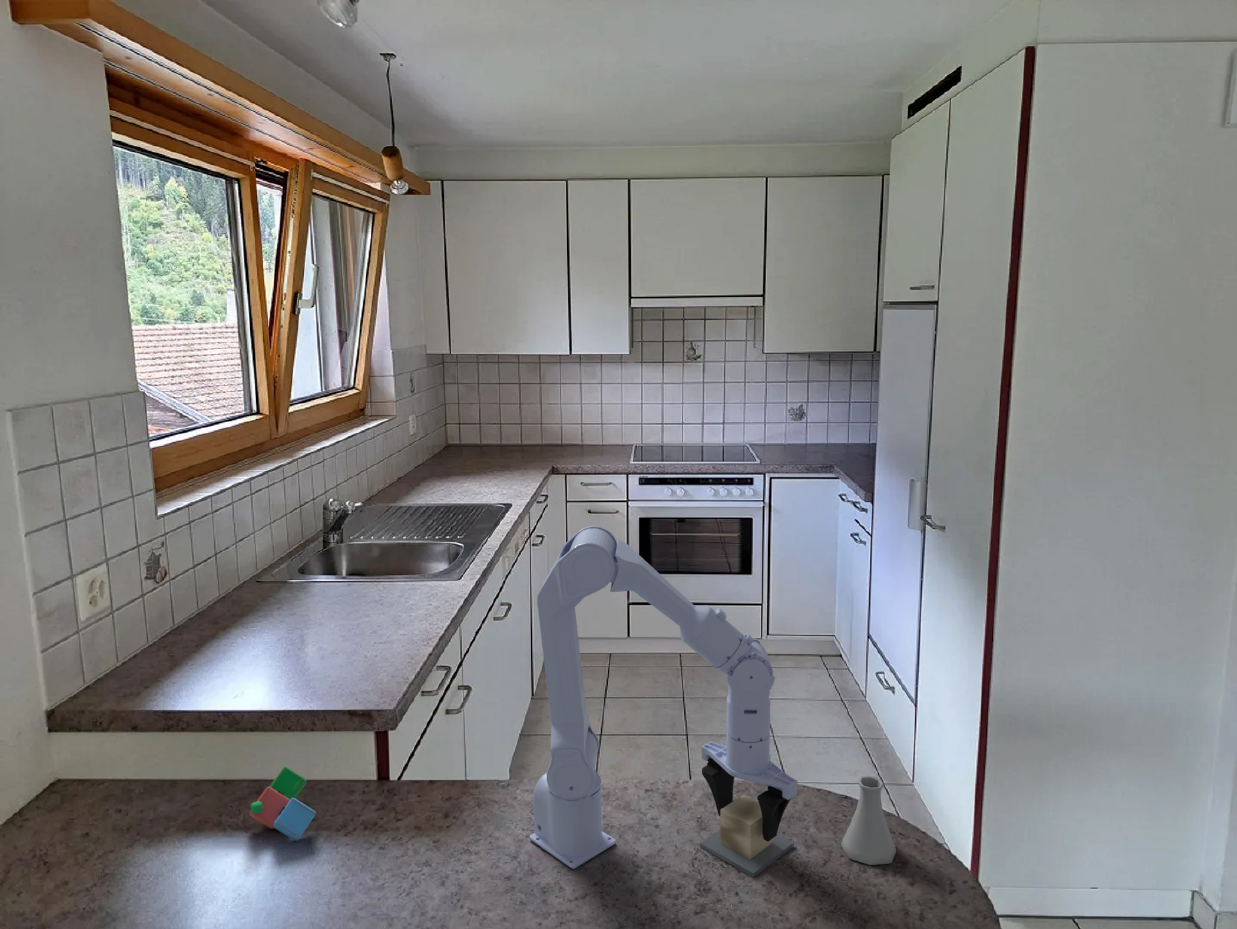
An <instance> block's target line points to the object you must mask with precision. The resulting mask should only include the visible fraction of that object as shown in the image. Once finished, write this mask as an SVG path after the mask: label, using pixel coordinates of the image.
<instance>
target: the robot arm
mask: <svg viewBox="0 0 1237 929" xmlns="http://www.w3.org/2000/svg"><path fill="white" fill-rule="evenodd" d="M617 540H618V541H617ZM610 583H611V585H610V590H609V591H610V592H611V593H621V592H628V591H629V592H633V593H635V594H637V595H638V596H639V597H641V598H642V599H643V600H644V601H645V602H647V603H648V604H650V605H651V606H652V607H654V609H656V610H657V611H659V612H660V613H661V614H663V615H664V616H666V618H668V619H669V620H671V621H672V622H673V623H675V624H676V625H678V626H679V633H680V634H679V635H680V639H681V641H682V642H684V643H685V644H686V645H687V646H688V647H690V649H691V650H693V651H694V652H695V653H696V654H698V655H699V656H700V657H702V658H703V659H704V660H705V661H706V662H707V663H709V664H710V665H711V666H712V667H714V669H716V670H717V671H718V672H720V673H723V674H725V675H727V682H728V688H727V689H728V692H727V693H728V694H727V697H726V721H725V722H726V726H725V727H726V732H725V733H726V735H725V736H726V739H725V740H726V743H725V745H722V744H719V743H716V742H713V741H709V742H707V743H705V744H704V745H701V759H702V760H703V761H706V762H707V764H706V765H704V766H703V767H702V768H701V775H702V777H704V779H705V781H706V782H707V784H708V787H709V789H710V791H711V793H712V794H711V795H712V797H713V800H714V803H715V807H716V810H717V815H718V817H720V810H721V809H722V808H724V807H725V806H727V805H728V804H730V803H731V802H733V801H734V800H733V799H734V797H733V795H734V782H735V778H736V779H739V780H744V781H748V782H751V783H756V784H760V785H763V786H765V787H767V790H764V791H763V792H761V793H760V794H759V795H757V797H756V801H757V802H759V805H760V808H761V813H762V831H763V839H764V840H765V841H770V840H771V839H773V838H774V837H775V836H777V834H778V833H779V832H778V831H779V827H780V824H781V821H782V819H783V818H782V817H783V815H784V813H785V810H786V808H787V806H788V805H789V803H790V802H791V800H792V798H794V797H795V796H796V795H798V786H799V785H798V780H797V779H795V778H793V777H791V776H790V775H789V774H787V773H786V772H785V771H784V770H782V769H781V768H780V767H779V766H777V765H776V764H775V763H774V762H772V760H771V753H770V752H771V750H770V746H771V744H770V742H771V736H770V735H771V700H770V699H771V698H770V693H771V689H772V688H773V686H774V683H775V678H776V677H775V676H774V671H773V667H772V664H771V661H770V659H769V658H770V657H769V655H768V652H767V651H766V649H765V647H764V646H763V644H762V643H761V642H760V640H759V639H757V638H754V637H752V636H751V634H749V633H746V634H745V635H744V634H743V632H741V631H740V630H739V629H738V628H736V627H735V626H734V625H733V624H732V623H730V622H729V621H728V620H727V614H726V612H724V610H722V609H721V608H720V607H718V608H717V609H716V610H715V609H714V608H713V607H711V606H710V605H708V604H707V605H706V604H705V605H694V603H693V602H691V601H690V600H689V599H688V598H687V597H686V596H684V595H683V594H682V593H681V592H680V591H679V590H678V589H677V588H676V587H674V586H673V584H672V583H670V581H668V580H667V579H666V578H665V577H664V576H662V574H661V573H659V572H658V570H656V569H655V568H654V567H653V566H652V565H651V564H650V563H648V562H647V561H646V560H645V559H644V558H643V557H642V556H641V555H639V554H638V552H636V551H635V549H634V548H632V547H631V546H630V545H629V544H628V543H626V542H625V541H623V540H621V539H620V538H618V539H616V537H615V536H614V534H613V533H612V532H611V531H610V530H608V529H606V528H605V527H602V526H598V525H590V526H586V527H583V528H582V529H580V530H579V531H577V532H576V533H575V534H574V535H573V536H572V537H571V538H570V539H569V540H568V541H566V542H565V544H564V545H563V547H562V549H561V551H560V552H559V555H558V556H557V558H556V559H555V562H554V563H553V565H552V567H551V569H550V570H549V572H548V575H546V578H545V579H544V581H543V583H542V585H541V586H540V590H539V591H538V594H537V599H536V602H537V603H536V604H537V611H538V612H537V613H538V620H539V630H540V636H541V645H542V653H543V654H542V655H543V661H544V662H543V664H544V671H545V680H546V689H547V690H546V691H547V695H548V696H547V698H548V705H549V712H550V713H549V715H550V721H551V722H550V724H551V726H550V727H551V730H550V763H549V765H548V768H547V770H546V771H547V772H545V773H544V774H543V775H541V777H540V778H539V779H538V781H537V783H536V784H535V787H534V790H533V795H532V800H533V801H532V802H533V803H532V804H533V827H534V832H533V833H531V834H530V835H529V840H530V841H531V842H533V843H535V844H536V845H538V846H539V847H540V848H542V849H543V850H545V851H546V852H547V853H549V854H550V855H552V856H553V857H555V859H558V860H559V861H560V862H561V863H563V864H565V865H566V866H567V867H569V868H571V869H577V868H578V867H579V866H581V865H583V864H584V863H586V862H588V861H589V860H591V859H593V858H595V857H596V856H598V855H599V854H600V853H602V852H604V851H605V850H607V849H609V848H610V847H612V846H613V845H615V844H616V838H614V837H612V836H610V835H609V834H608V833H605V832H604V831H603V823H602V822H603V821H602V820H603V817H602V816H603V815H602V813H603V812H602V780H601V775H599V773H598V771H597V770H596V765H597V764H596V763H597V756H598V754H599V750H600V742H599V741H600V740H599V737H598V735H597V734H596V731H594V730H593V727H592V725H591V721H590V714H589V713H588V712H587V704H586V703H587V702H586V696H585V687H584V686H585V685H584V678H583V670H582V659H581V650H580V641H579V633H578V632H579V630H578V623H577V614H576V607H577V606H578V605H579V604H580V603H581V601H583V599H585V598H586V597H588V596H591V595H592V594H595V593H597V592H599V591H601V590H603V589H604V588H606V587H607V586H608V585H609V584H610Z"/></svg>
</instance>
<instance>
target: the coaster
mask: <svg viewBox="0 0 1237 929" xmlns="http://www.w3.org/2000/svg"><path fill="white" fill-rule="evenodd" d="M699 847H700V848H702V849H703V850H704V851H706V852H709V853H710V854H712V855H713V856H715V857H717V858H719V859H720V860H722V861H723V862H726V863H727V864H729V865H731V866H732V867H735V868H736V869H738V870H739V871H741V872H743V873H745V874H747V875H748V876H750V877H752V878H755V877H756V876H757V875H758V874H760V873H761V872H763V871H764V870H765V869H767V868H768V867H769V866H770V865H771V864H773V863H775V861H777V860H778V859H779V858H781V857H782V856H783V855H785V854H786V853H787V852H788V851H790V850H791V849H792V848H794V847H795V842H793V841H792V840H790V839H788V838H786V837H784V836H782V835H780V834H778V833H777V836H775V837H774V838H773V839H772V844H770V845H769V846H768V847H766V848H765V849H764V850H762V851H761V852H760V853H758V854H757V855H756V856H754V857H753V858H751V859H748V858H746V857H744V856H742V855H741V854H739V853H737V852H735V851H733V850H732V849H730V848H728V847H726V846H724V845H723V844H721V843H720V829H718V830H716V831H715V832H714V833H712V834H711V835H710V836H708V837H707V838H705V839H703V840H702V841H701V842H699Z"/></svg>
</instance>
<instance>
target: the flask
mask: <svg viewBox="0 0 1237 929" xmlns="http://www.w3.org/2000/svg"><path fill="white" fill-rule="evenodd" d="M857 783H858V785H859V790H860V791H859V798H858V801H857V807H856V808H855V811H854V813H853V816H852V818H851V821H850V822H849V826H848V828H847V830H846V831H845V834H844V836H843V838H842V840H841V842H840V846H841V849H843V851H844V853H845V854H846V857H847V858H848V859H849V860H853V861H856V862H859V863H861V864H864V865H865V864H866V865H869V866H873V865H874V866H876V865H885V864H887V865H888V864H892V863H893V860H894V858H895V857H896V856H895V855H896V853H897V850H896V846H895V842H894V840H893V838H892V834H891V832H890V829H889V826H888V823H887V820H886V817H885V813H884V810H883V804H882V798H881V796H882V790H883V787H884V782H883V781H882V780H881V778H879V777H876V776H872V775H864V776H860V777H859V779H858V782H857Z"/></svg>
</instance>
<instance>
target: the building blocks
mask: <svg viewBox="0 0 1237 929" xmlns="http://www.w3.org/2000/svg"><path fill="white" fill-rule="evenodd" d="M306 784H307V778H305V777H303V776H302V775H300V774H299V773H297V772H296V771H294V770H292V769H291V768H289V767H288V766H283V767H282V769H281V770H280V772H279V773H278V775H277V776H276V777H275V778H274V780H273V781H272V782H271V784H270V785H269V786H267V787H266V788H265V789H264V790H263V792H262V793H261V795H260V796H259V798H258V799H257V801H254V802H252V803H251V804H250V810H249V816H250V817H252V818H253V819H255V821H257V822H259V823H260V824H262V825H264V826H266V827H267V828H269V829H271V830H273V829H276V830H277V831H278V832H280V833H282V834H283V835H284V836H285V835H286V836H287V837H288V838H290V839H291V840H293V841H295V842H298V841H299V840H300V838H301V837H302V836H303V833H305V831H306V829H307V828H308V826H309V825H310V823H311V822H312V820H314V817H316V814H317V812H316V811H315V809H313V808H311V807H309V806H308V805H307V804H305V803H303V802H301V801H299V800H298V799H297V797H298V795H300V793H301V792H302V790H303V788H304V787H305V786H306Z"/></svg>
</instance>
